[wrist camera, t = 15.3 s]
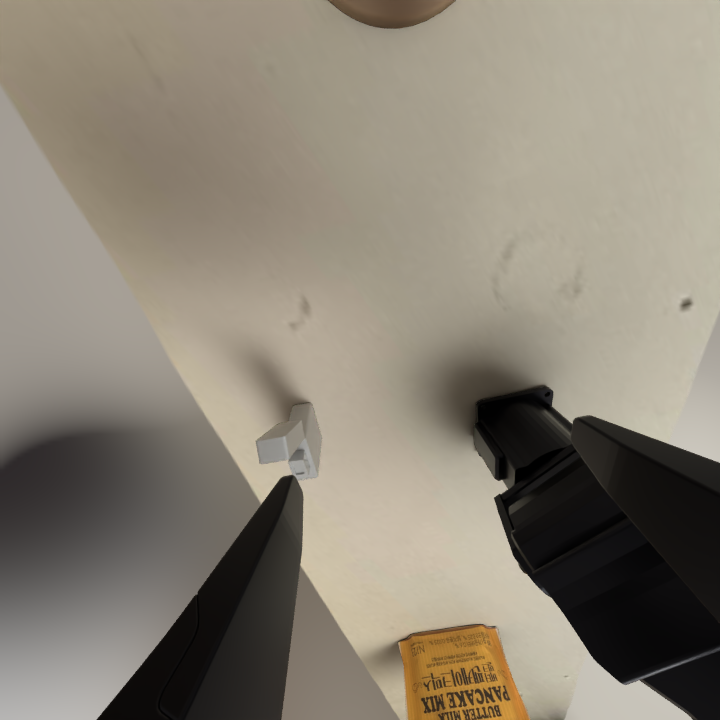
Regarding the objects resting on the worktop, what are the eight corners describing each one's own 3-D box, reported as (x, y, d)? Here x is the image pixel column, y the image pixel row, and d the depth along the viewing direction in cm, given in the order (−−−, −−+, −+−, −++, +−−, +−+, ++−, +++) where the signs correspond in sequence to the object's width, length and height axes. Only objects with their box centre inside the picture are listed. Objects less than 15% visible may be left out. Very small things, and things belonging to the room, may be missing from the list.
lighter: (322, 438, 25) (313, 524, 18) (303, 441, 25) (288, 528, 18) (302, 372, 22) (282, 443, 15) (281, 376, 22) (251, 449, 15)
